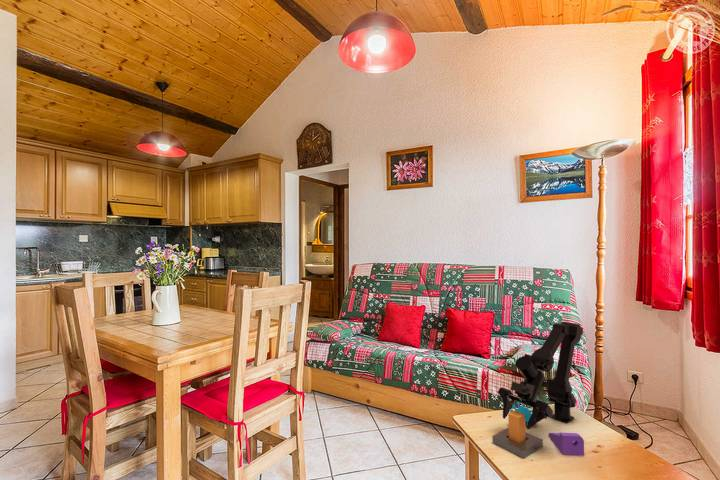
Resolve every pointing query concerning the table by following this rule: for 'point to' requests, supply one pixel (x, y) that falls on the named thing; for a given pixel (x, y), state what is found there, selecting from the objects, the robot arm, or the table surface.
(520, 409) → the gear
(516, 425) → the tall orange pillar
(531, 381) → the robot arm
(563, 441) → the bracket
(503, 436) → the slotted square tile
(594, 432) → the table surface
